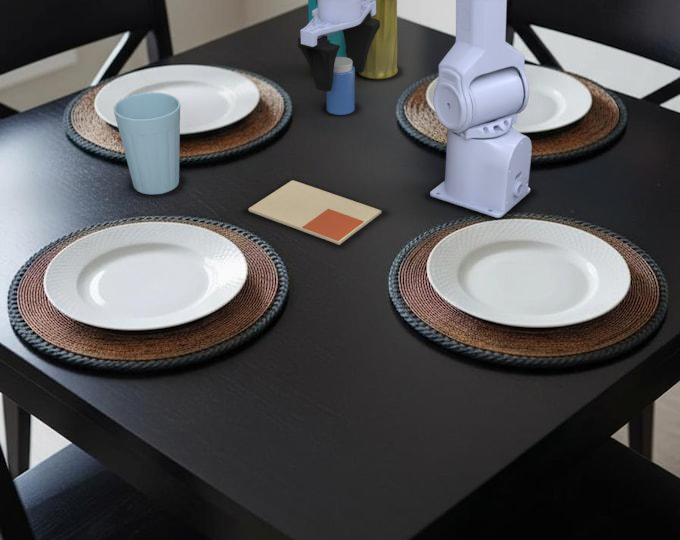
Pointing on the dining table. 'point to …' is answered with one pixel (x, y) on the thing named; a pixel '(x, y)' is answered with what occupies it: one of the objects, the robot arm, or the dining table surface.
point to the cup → (150, 140)
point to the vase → (383, 43)
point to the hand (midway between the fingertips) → (340, 79)
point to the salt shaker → (342, 88)
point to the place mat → (315, 211)
